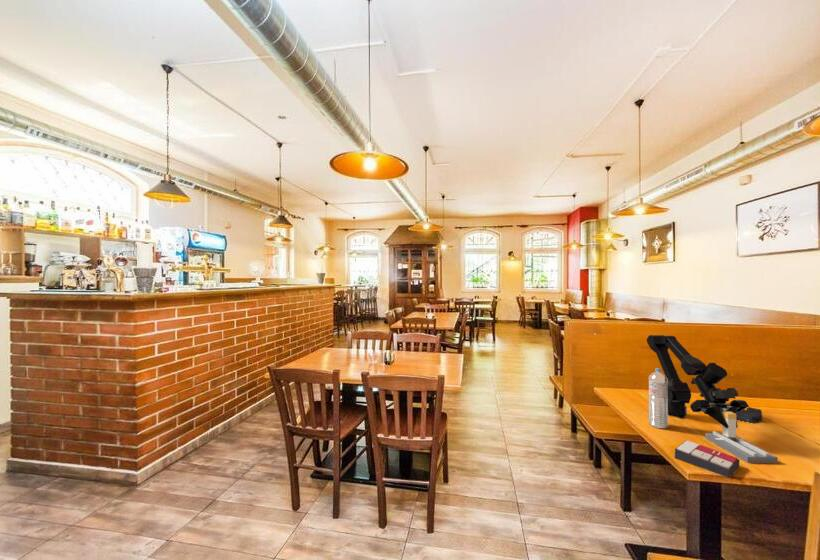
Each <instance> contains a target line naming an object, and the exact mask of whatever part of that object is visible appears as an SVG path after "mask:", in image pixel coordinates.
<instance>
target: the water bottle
mask: <svg viewBox="0 0 820 560" xmlns="http://www.w3.org/2000/svg"><path fill="white" fill-rule="evenodd" d="M661 369H662V368H658V367H657V368H656V367H655V369H654V370H655V371H654V372H652V373H650V375H648V423H649V425H650V426H651V427H653V428H656V429H661V430H662V429H664V430H665V429H667V428H668V427H669V415H668V379H667V378H666V376H665V374H664V373H662V372H661Z"/></svg>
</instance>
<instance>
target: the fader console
mask: <svg viewBox="0 0 820 560" xmlns="http://www.w3.org/2000/svg"><path fill="white" fill-rule="evenodd" d="M704 435H705V436H704V438H705V439H706V440H707V441H709V442H712V443H713V444H715V445H716V446H718V447H720V448H721V449H723V450H725V451H727V452H728V453H731V454H732V455H734V457H736V458H738V459H739V460H740V459H741V460H743V461H744V462H746V463H748V464H749V463H752V464H753V463H754V464H755V463H756V464H769V463H770V464H779V463H778V462H779V461H778V460H779V458H778V456H776V455H774V454H772V453H770V452H768V451H766V450H764V449H762V448H761V447H758V446H756V445H755V444H752V442H749V441H747V440H745V439H743V438H741V437H739V436H737V435H736V440H731V439H729V438H727V437H725V436H723V432H721V433H719V432H717V431H715V430H714V431H712V432H707V433H706V432H705V434H704Z"/></svg>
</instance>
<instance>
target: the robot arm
mask: <svg viewBox="0 0 820 560" xmlns="http://www.w3.org/2000/svg"><path fill="white" fill-rule="evenodd" d="M646 343H647V344H648V347H649V349H650V350H651V351H653V352H654V353H655V354H656V356H657V358H658V361H659V364H660V366H661V369H662V372H663V374H664V375H665V376H666V378H667V379H668V416H671V417H676V418H680V419H684V418H685V417H687V415H688V413H687V412H688V406H687V405H686V404H690V405H689V406H690V407H689V408H690V409H691V411H692V412H693V413H701V408H705V412H703V413H704V414H705V415H707V416H709V417H710V418H712V419H714V420H715V421H716V422H717V423H719V425H721V426H722V425H723V426H724V427H725V428H728V427H729V426H728V424H727V422H726V421H725V419H724V417H723V416H722V414H721V412H720V408H722V409H723V410H724V412H733V413H735V414H736V412H741V411H742V410H747V408H748V407H750V406H749V404H748V403H747V401H746V400H743V399H736V397H739V393H738V390H737V389H736V388H735V387H727V388H726V389H721V388H719V387H717V386H716V385H717V384H718V383H720V382H721V381H722V380H724V379H725V378H726V377H727V376H728V372H727V370H726V369H725V368H724V367H722V366H720V365H718V364H716V362H709V363H708V364H707V365H706V363H704V362H703V361H702V360H701V359H700V358H697V357H695V356H693V355H692V354H691V353H689V351H688V350H687V349H686V348H685V347H684V346H683V345H682V344H681V342H679V340H677V337H676V336H675V335H664V334H650V335H648V337H647V338H646ZM669 350H670V351H671V353H672V354H673V355H674V356H675V357H676V358H677V359H678V361H679V362H680V367H681V369H682V370H683V371H684V373H685V374H686V375H688V376H696V377H692V378H691V381H690V384H691V385H696V387H697V389H698V391H699V392H700V394H699V397H701V398H703V399H696V400H694V401H693V402H692V403H690V402H691V400H692V399H691V398H692V391H691V389H690V388H689V387H690V386H689V385H688V383H687V382H683V381H682V380H681V379H680V376H679V374H678V371H677V369H676V367H675V365H674V362H673V359H672V358H671V355H670V353H669ZM730 399H733V400H732V401H730ZM729 401H730V402H729ZM738 427H739V425H738V420H736V429H737V428H738Z"/></svg>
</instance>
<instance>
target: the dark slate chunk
mask: <svg viewBox="0 0 820 560" xmlns="http://www.w3.org/2000/svg"><path fill="white" fill-rule="evenodd" d="M701 411H702V412H701ZM701 411H700V412H701V413H704V412H705V408H701ZM720 412H721V414H722V412H724V410H723V409H722V408H720ZM762 413H763V412H762V410H761V409H760V408H755V407H754V408H753V407H750V406H749V407H747V408H746V409H744V410H742V411H741V412H736V420H737V421H738V420H740V421H739V422H742V421H744V422H743V423H746V422H749V423H748V424H750V423H758V424H759V423H760V422H762V420H763V414H762Z"/></svg>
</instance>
